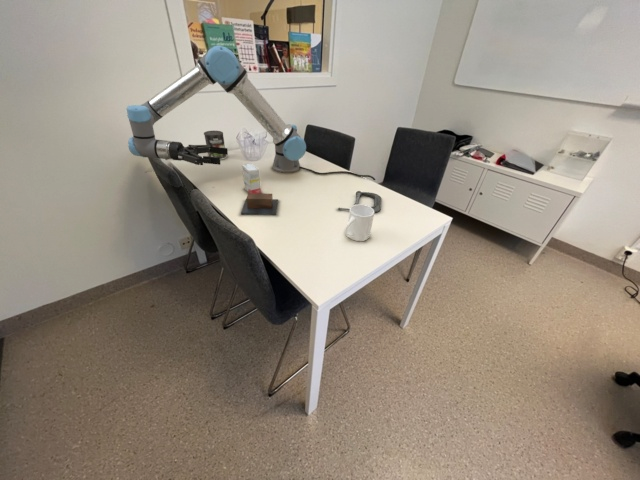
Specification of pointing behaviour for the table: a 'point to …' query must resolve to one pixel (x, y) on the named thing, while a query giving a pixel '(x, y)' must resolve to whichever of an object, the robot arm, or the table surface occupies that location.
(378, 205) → the c clamp
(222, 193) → the table surface
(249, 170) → the ink box
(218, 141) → the coffee can
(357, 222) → the mug
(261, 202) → the stand
